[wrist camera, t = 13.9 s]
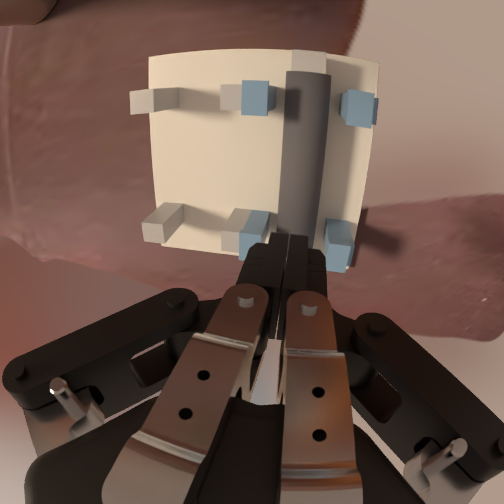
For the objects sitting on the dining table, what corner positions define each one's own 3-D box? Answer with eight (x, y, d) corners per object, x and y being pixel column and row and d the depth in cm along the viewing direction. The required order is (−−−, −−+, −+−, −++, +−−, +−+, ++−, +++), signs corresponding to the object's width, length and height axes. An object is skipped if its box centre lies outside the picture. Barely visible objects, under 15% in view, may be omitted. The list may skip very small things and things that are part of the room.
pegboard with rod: (152, 57, 23) (115, 54, 18) (377, 63, 20) (397, 55, 15) (164, 242, 34) (138, 273, 29) (347, 264, 31) (352, 303, 26)
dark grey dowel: (289, 54, 21) (284, 48, 18) (331, 58, 20) (333, 52, 17) (276, 251, 31) (271, 271, 28) (310, 256, 30) (309, 276, 27)
